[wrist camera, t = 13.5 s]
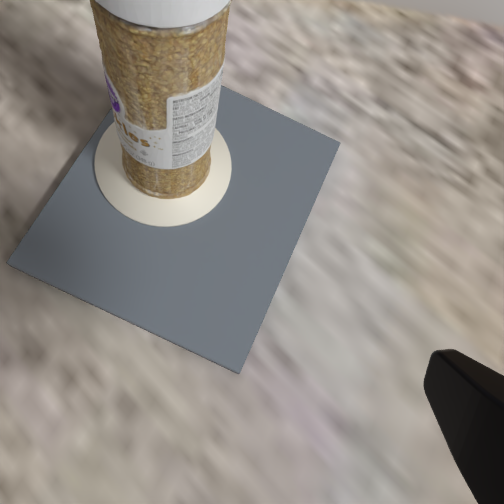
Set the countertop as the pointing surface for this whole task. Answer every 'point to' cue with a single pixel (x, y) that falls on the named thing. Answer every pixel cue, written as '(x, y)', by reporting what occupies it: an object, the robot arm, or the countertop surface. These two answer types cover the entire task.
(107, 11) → the sprinkles bottle
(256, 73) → the countertop surface
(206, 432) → the countertop surface
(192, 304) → the board
